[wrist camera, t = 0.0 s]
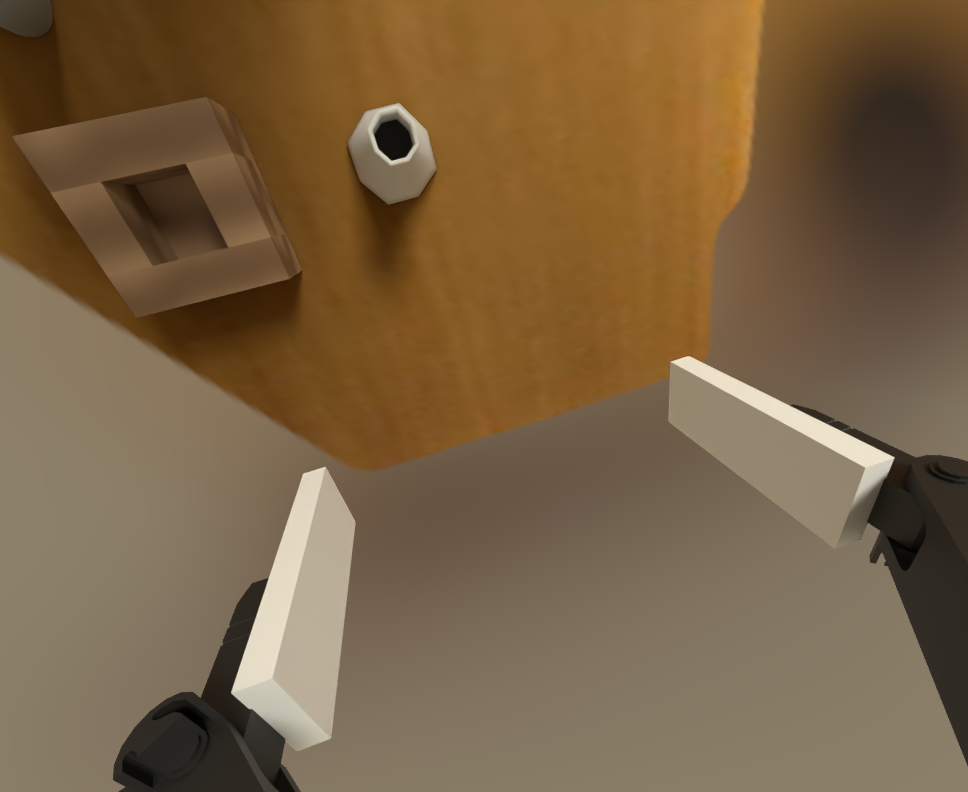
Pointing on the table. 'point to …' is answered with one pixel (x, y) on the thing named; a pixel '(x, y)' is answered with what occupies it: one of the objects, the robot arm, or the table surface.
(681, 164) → the table surface
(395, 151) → the flask
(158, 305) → the bore block
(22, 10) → the dowel
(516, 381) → the table surface
